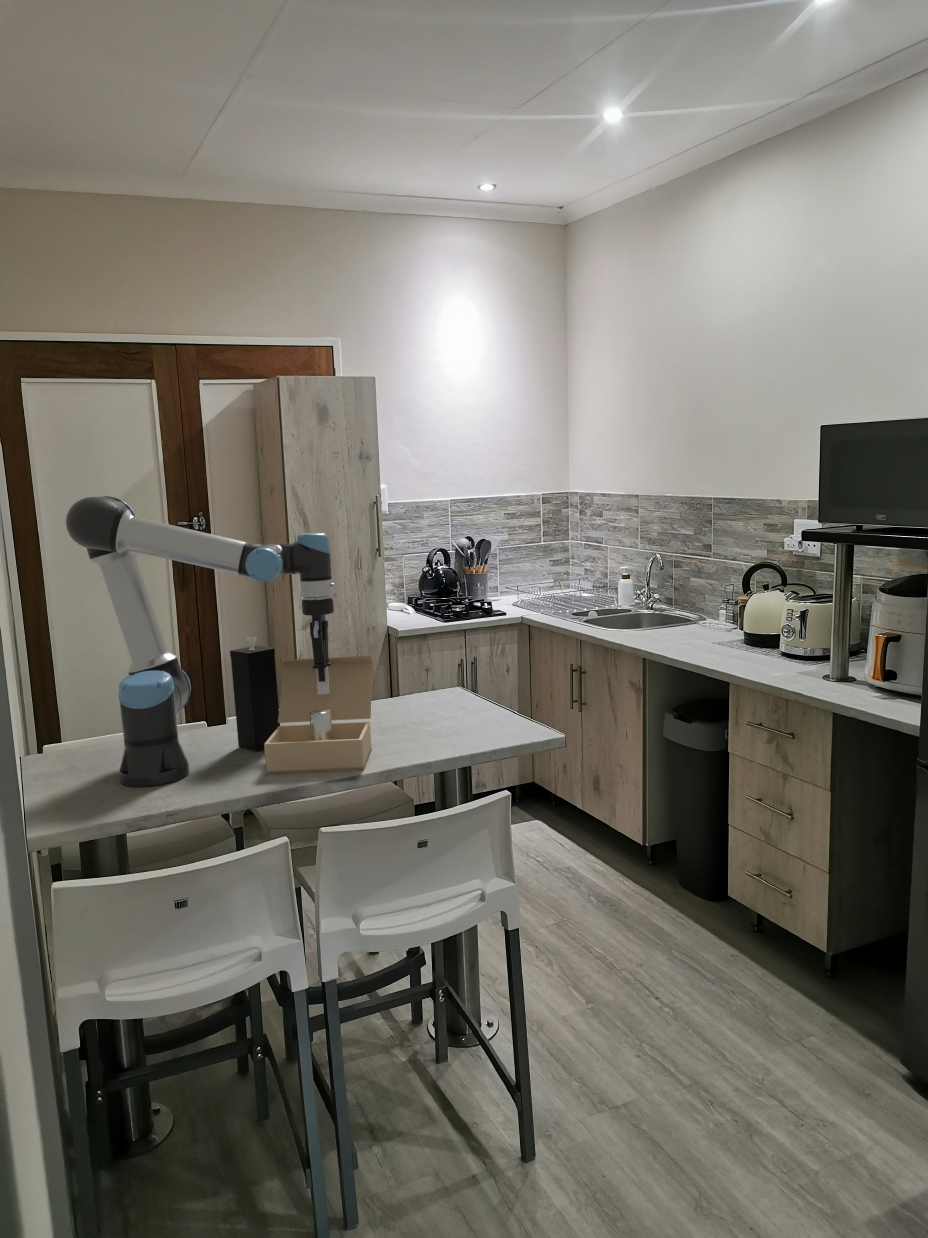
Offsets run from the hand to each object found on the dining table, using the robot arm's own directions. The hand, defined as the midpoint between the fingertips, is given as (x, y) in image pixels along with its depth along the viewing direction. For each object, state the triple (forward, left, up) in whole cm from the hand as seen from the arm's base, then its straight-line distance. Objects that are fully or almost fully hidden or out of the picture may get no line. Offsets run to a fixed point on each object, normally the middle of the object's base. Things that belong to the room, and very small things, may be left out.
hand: (323, 693), depth 224 cm
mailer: (0, -11, -14) cm, 18 cm away
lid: (0, +1, +2) cm, 2 cm away
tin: (0, -8, -14) cm, 16 cm away
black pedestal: (-18, +5, -14) cm, 23 cm away
